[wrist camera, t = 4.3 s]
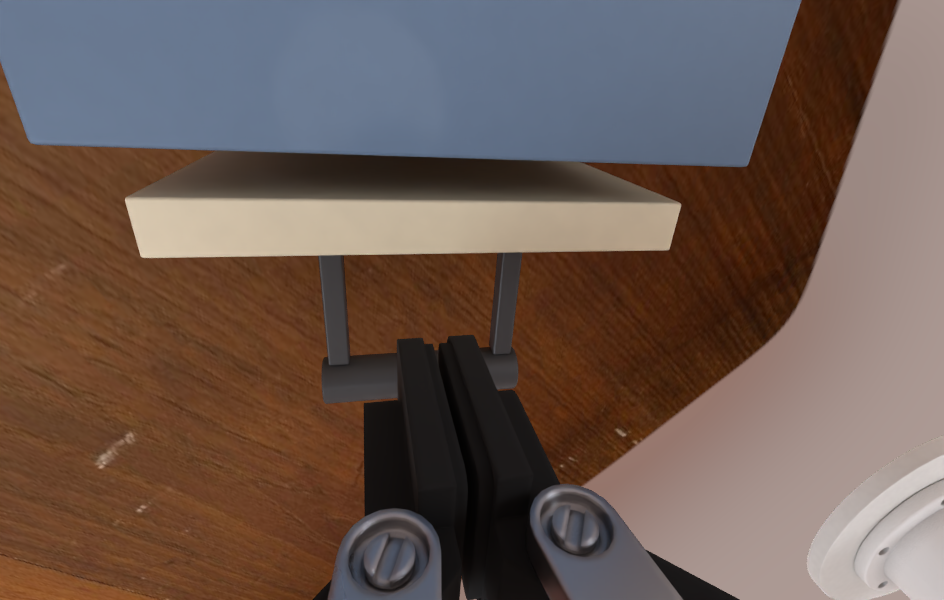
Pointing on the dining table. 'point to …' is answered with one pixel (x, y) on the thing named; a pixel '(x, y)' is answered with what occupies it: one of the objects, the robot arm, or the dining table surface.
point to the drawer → (394, 228)
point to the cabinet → (401, 76)
